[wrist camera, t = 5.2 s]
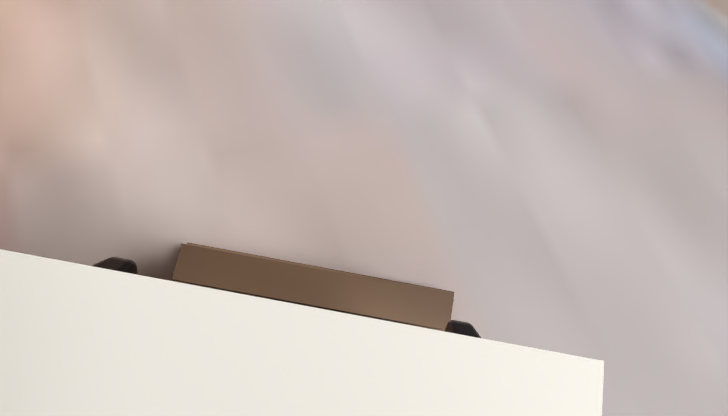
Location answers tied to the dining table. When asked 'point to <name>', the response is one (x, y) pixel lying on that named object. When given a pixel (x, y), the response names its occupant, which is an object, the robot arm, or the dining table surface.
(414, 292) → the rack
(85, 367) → the tall white pillar
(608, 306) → the dining table surface
